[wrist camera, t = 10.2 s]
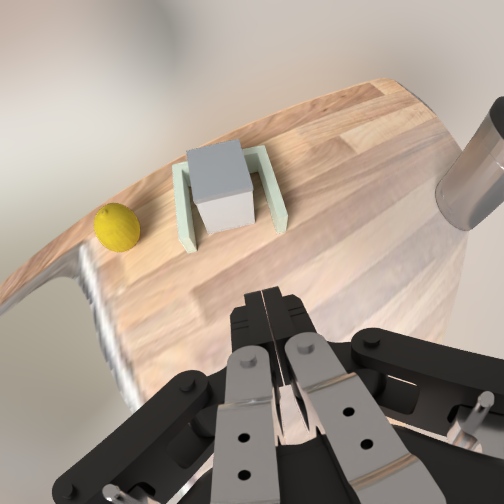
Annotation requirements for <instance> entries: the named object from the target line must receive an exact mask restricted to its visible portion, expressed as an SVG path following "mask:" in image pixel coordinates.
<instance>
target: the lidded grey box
mask: <svg viewBox="0 0 504 504" xmlns="http://www.w3.org/2000/svg"><path fill="white" fill-rule="evenodd" d="M186 152H187V160H188V167H189V174H190V181H191V188H192V195H193V201H194V203H195V205H197V208H198V210H199V213H200V215H201V218H202V220H203V222H204V225H205V227H206V230H207V232H208V234H212V233H216V232H220V231H224V230H228V229H233V228H237V227H241V226H245V225H250V224H254V223H255V218H254V205H253V193H252V191H253V184H252V181H251V178H250V174H249V171H248V168H247V165H246V161H245V158H244V155H243V151H242V148H241V145H240V142H239V139H236V140H231V141H226V142H222V143H217V144H213V145H209V146H204V147H200V148H196V149H192V150H189V151H186Z"/></svg>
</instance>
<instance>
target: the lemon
mask: <svg viewBox="0 0 504 504" xmlns="http://www.w3.org/2000/svg"><path fill="white" fill-rule="evenodd" d="M94 231H95V234H96V236H97V238H98V239H99V241H100V242H101V243H102V245H103V246H105V247H106V248H108V249H109V250H111V251H115V252H125V251H128V250H129V249H131V248H132V247H133V246H135V244H136V243H137V241H138V239H139V236H140V224H139V221H138V219H137V217H136V216H135V214H134V213H133V212H132V211H131V210H130V209H129V208H127V207H126V206H124V205H122V204H119V203H110V204H107V205H105V206H103V207H102V208H101V209H100V210H99V211H98V212H97V214H96V216H95V219H94Z"/></svg>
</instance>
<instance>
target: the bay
mask: <svg viewBox="0 0 504 504" xmlns="http://www.w3.org/2000/svg"><path fill="white" fill-rule="evenodd" d="M242 151H243V155H244V158H245V161H246V165H247V168H248V171H249V173H254V172H259V176H260V179H261V182H262V186H263V189H264V192H265V196H266V199H267V203H268V206H269V209H270V213H271V216H272V220H273V223H274V227H275V230H276V234H278V233H282V232H286V227H287V220H288V214H287V211H286V208H285V205H284V202H283V199H282V196H281V193H280V190H279V187H278V184H277V181H276V178H275V175H274V172H273V169H272V166H271V163H270V160H269V157H268V154H267V151H266V149H265V146H264V145H261V146H255V147H250V148H245V149H242ZM172 170H173V184H174V196H175V207H176V217H177V227H178V236H179V241H180V242H181V244H182V245H183V247H184V248H185V250H186V251H187V253H192V252H196V251H197V247H196V240H195V233H194V226H193V219H192V212H191V204H190V196H189V188H188V187H190V186H191V181H190V174H189V167H188V161H186V162H182V163H178V164H174V165H172Z"/></svg>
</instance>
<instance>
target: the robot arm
mask: <svg viewBox="0 0 504 504" xmlns="http://www.w3.org/2000/svg"><path fill="white" fill-rule="evenodd" d="M436 201H437V204H438V206H439V209H440V211H441V212H442V214H443V215H444V217H445V218H446V219H447V220H448V221H449V222H450V223H451V224H452V225H454V226H455V227H457V228H459V229H461V230H471V229H473V228H474V227H475V226H476V225H478V224H479V223H480V222H481V221H482V220H484V219H485V218H486V217H487V216H488V215H489V214H490V213H491V212H493V210H495V209H496V208H497V207H498V206H499V205H500V204H501V203H502V202H503V201H504V97H499V98H498V99H496V101H495V102H494V104H493V105H492V107H491V109H490V110H489V112H488V114H487V115H486V117H485V119H484V120H483V122H482V124H481V125H480V127H479V128H478V130H477V131H476V133H475V134H474V136H473V137H472V139H471V140H470V142H469V143H468V145H467V146H466V148H465V149H464V151H463V152H462V153H461V155H460V156H459V157H458V159H457V160H456V162H455V163H454V164H453V166H452V167H451V168H450V170H449V171H448V172H447V174H446V175H445V176H444V178H443V179H442V180H441V182H440V183H439V184H438V186H437V188H436ZM262 293H263V298H264V302H265V306H264V302H263V298H262V295H261V291H256V292H251V293H247V294H244V298H245V304H246V306H241V307H237V308H234V310H233V311H232V313H231V315H230V323H231V341H232V354H231V355H230V356H229V358H228V361H227V366H226V367H225V368H224V369H222V370H220V371H219V372H217V373H214V374H212V375H209V376H207V377H206V375H205V374H204V373H202V372H200V371H197V370H188V371H184V372H181V373H179V374H178V375H176V376H175V377H173V378H172V379H171V380H170V381H169V382H168V383H167V384H166V385H165V386H164V387H163V388H161V389H160V390H159V391H158V392H157V393H156V394H155V395H154V396H153V397H152V398H151V399H149V400H148V401H147V402H146V403H145V404H144V405H143V406H142V407H141V408H140V409H138V410H137V411H136V412H135V413H134V414H133V415H132V416H131V417H130V418H128V419H127V420H126V421H125V422H124V423H123V424H122V425H121V426H119V427H118V428H117V429H116V430H115V431H114V432H113V433H111V434H110V435H109V436H108V437H107V438H105V439H104V440H103V441H102V442H101V443H100V444H98V445H97V446H96V447H95V448H94V449H93V450H91V452H89V453H88V454H87V455H86V456H84V457H83V458H82V459H81V460H80V461H78V462H77V463H76V464H75V465H73V466H72V467H71V468H70V469H69V470H67V471H66V472H65V473H64V474H62V475H61V476H60V477H59V478H58V479H57V480H56V481H55V483H54V485H53V488H52V496H53V500H54V502H55V503H56V504H166V503H167V502H168V501H169V500H170V499H171V498H172V497H173V496H174V495H175V494H176V493H177V492H178V491H179V490H180V489H181V488H182V487H183V486H184V485H185V484H186V483H187V481H188V480H189V479H190V478H191V477H192V476H193V475H194V474H195V473H196V472H197V471H198V470H199V468H200V467H201V466H202V465H203V464H204V463H205V462H206V461H207V459H208V458H209V457H210V456H211V455H212V454H213V453H214V459H213V468H211V469H210V470H208V471H207V472H205V473H204V474H203V475H202V476H201V477H200V478H199V479H198V480H197V481H196V482H195V484H194V485H193V486H192V487H191V488H190V489H189V491H188V492H187V493H186V494H185V495H184V496H183V497H182V498H181V500H180V501H179V502H178V503H177V504H504V360H503V359H498V358H494V357H490V356H485V355H481V354H477V353H472V352H468V351H464V350H460V349H456V348H452V347H448V346H444V345H440V344H436V343H432V342H428V341H424V340H420V339H417V338H413V337H409V336H405V335H402V334H398V333H394V332H391V331H387V330H384V329H380V328H366V329H363V330H360V331H358V332H357V333H356V334H355V335H354V336H353V337H352V340H351V342H343V343H334V342H329V341H326V340H325V338H324V337H323V336H322V335H320V334H317V332H316V329H315V327H314V325H313V323H312V321H311V319H310V317H309V315H308V313H307V311H306V309H305V307H304V305H303V303H302V301H301V299H300V298H298V297H297V296H295V295H293V294H292V295H288V296H283V297H282V294H281V292H280V289H279V287H278V286H277V287H273V288H268V289H264V290H262ZM265 307H266V310H265ZM266 311H267V314H266ZM267 316H268V318H267ZM268 320H269V321H268ZM274 344H275V345H274ZM275 348H276V349H275ZM276 352H277V354H276ZM277 356H278V358H277ZM278 359H279V363H280V367H281V371H282V375H283V378H284V382H285V386H286V385H290V384H291V386H292V390H293V394H294V399H295V402H296V405H297V407H298V410H299V413H300V415H301V418H302V420H303V423H304V425H305V428H306V430H307V433H308V435H309V438H310V440H309V441H307V442H305V443H303V444H298V445H286V442H285V434H284V426H283V418H282V410H281V403H280V398H281V396H280V391H279V387H282V386H283V381H282V377H281V372H280V367H279V363H278ZM388 375H390V376H393V377H396V378H399V379H402V380H405V381H408V382H411V383H414V384H416V385H417V386H416V385H413V384H409V383H406V382H403V381H400V380H397V379H394V378H391V377H388ZM385 416H387V417H389V418H392V419H395V420H397V421H400V422H403V423H406V424H409V425H411V426H414V427H417V428H420V429H423V430H426V431H429V432H433V433H436V434H439V435H442V436H446V437H447V440H448V442H449V443H446V442H443V441H440V440H437V439H434V438H432V437H429V436H426V435H424V434H421V433H418V432H416V431H413V430H411V429H408V428H405V427H402V426H398V425H393V424H390V423H389V421H388V420H387V418H386V417H385Z"/></svg>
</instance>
